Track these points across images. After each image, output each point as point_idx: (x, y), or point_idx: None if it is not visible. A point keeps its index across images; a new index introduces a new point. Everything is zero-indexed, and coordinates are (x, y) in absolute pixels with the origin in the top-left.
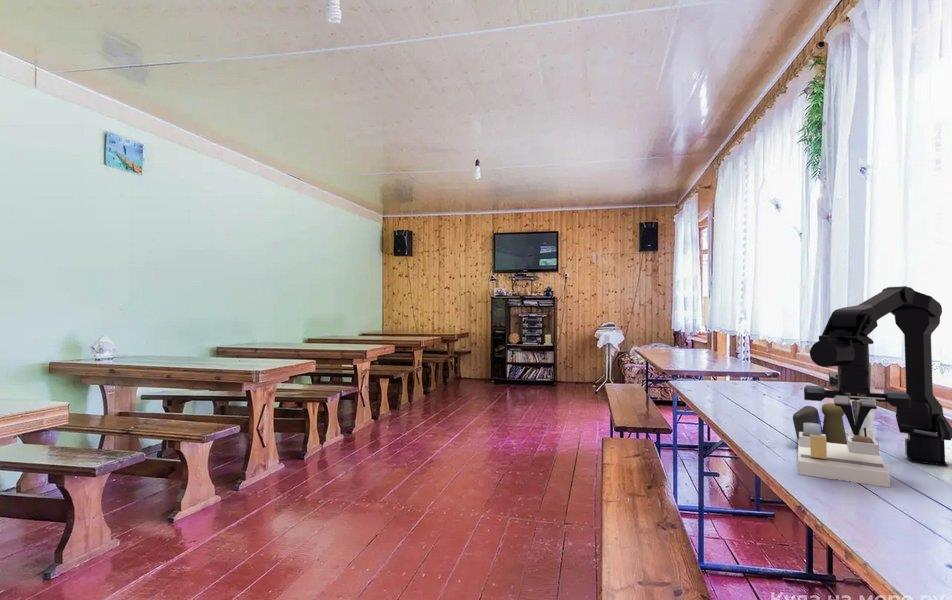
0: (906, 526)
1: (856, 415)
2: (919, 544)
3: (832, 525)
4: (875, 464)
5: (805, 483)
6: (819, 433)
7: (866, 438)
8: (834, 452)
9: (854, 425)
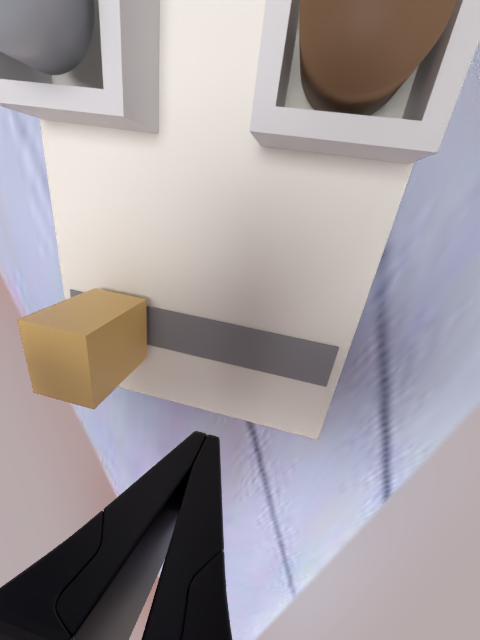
0: (258, 570)
1: (157, 594)
2: (252, 605)
3: (161, 567)
4: (308, 358)
5: (123, 416)
6: (61, 29)
7: (406, 13)
8: (188, 191)
9: (169, 540)
